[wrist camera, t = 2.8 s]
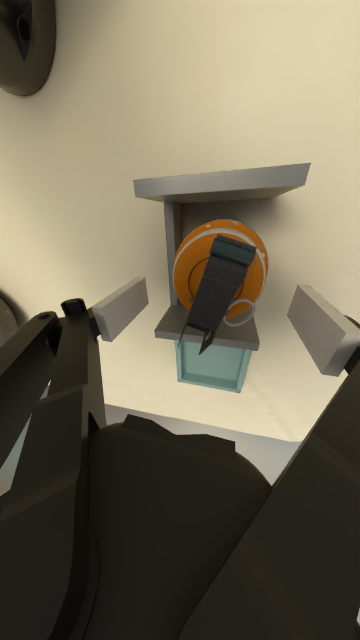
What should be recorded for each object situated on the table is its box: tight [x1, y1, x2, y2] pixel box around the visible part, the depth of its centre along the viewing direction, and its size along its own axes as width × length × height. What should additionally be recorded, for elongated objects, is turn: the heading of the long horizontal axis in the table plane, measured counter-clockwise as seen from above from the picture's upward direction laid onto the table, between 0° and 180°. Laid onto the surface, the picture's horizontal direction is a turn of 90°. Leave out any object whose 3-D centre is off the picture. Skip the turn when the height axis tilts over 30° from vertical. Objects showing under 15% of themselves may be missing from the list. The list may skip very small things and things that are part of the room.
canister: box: [172, 218, 268, 355], centre depth 19 cm, size 9×11×20 cm
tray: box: [175, 340, 251, 393], centre depth 37 cm, size 17×15×3 cm
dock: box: [133, 163, 311, 351], centre depth 23 cm, size 17×14×12 cm
